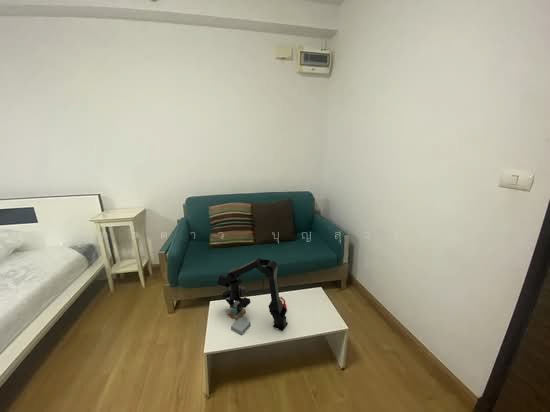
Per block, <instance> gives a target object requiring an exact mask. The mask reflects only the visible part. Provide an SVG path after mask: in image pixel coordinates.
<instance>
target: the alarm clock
mask: <svg viewBox="0 0 550 412" xmlns="http://www.w3.org/2000/svg"><path fill="white" fill-rule="evenodd" d="M279 299H280V300H281V301H282V304H283V306H284V307H285V308H286V309H287V310H288V307H287V304H286V300H285V299H284V297H283V296H279Z"/></svg>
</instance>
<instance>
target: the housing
mask: <svg viewBox="0 0 550 412" xmlns="http://www.w3.org/2000/svg"><path fill="white" fill-rule="evenodd" d="M238 304H239V301H238V302H237V301H234V303H233V304H231V305H229V309H230V310H231V311H230V310H229V311H230V314H232V315H235V316H237V315H238V314H239V313H240V312H241V311H242V310H243V307H242V309H241V311H240V312H239V310H238V308H237V305H238Z"/></svg>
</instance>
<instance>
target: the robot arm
mask: <svg viewBox="0 0 550 412" xmlns="http://www.w3.org/2000/svg"><path fill="white" fill-rule="evenodd" d="M255 269H257V270H258V271H259V272H260V273H262V274H264V275H265V277H266V279H267V280H268V286H269V292H270V293H269V294H270V299H271V300H270V302H269V304H268V310H269V313H270V315H271V316H272V318H273V328H274V329H277V330H279V331H281V332H283V331H284V330H285V328H286V327H287V326H288V322H287V314H286V313H287V311H288V308H287V309H286V308H285V307H284V306H283V304H282V301H281V300H280V299H279V297H280V294H279V293H280V292H279V286H278V278H277V276H278V269H279V267H278V263H277V262H276V261H274V260H271V259H262V258H259V257H258V258H255V259H254V260H252V261H250V262H247V263H246V264H244V265H241V266H236V267H233V268H232V269H231V270H230V271H229V272H228V273H227V274H226V275H227V276H226V275H223V274H220V275H219V277H218V279H217V285H216V286H218V287H222V288H227V290H225V291H224V292H223V293H221V299H223V300H225V301H226V302H227V304H228V305H229V306H230V305H231V304H233V303H234V302H235V301H237V302H238V301H239V304H238V305H237V308H238V310H239V312H240V311H241V309H242V307H243V308H244V309H246V307H248V306H249V305H250V304H251V299H250V298H248V297H243V295H244V294H247V287H245V286H243V285H241V284H242V283H243V280H242V279H241V278H240V277H241V276H243V275H245V274H247V273H249V272H250V271H252V270H255ZM228 288H229V290H228Z"/></svg>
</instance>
